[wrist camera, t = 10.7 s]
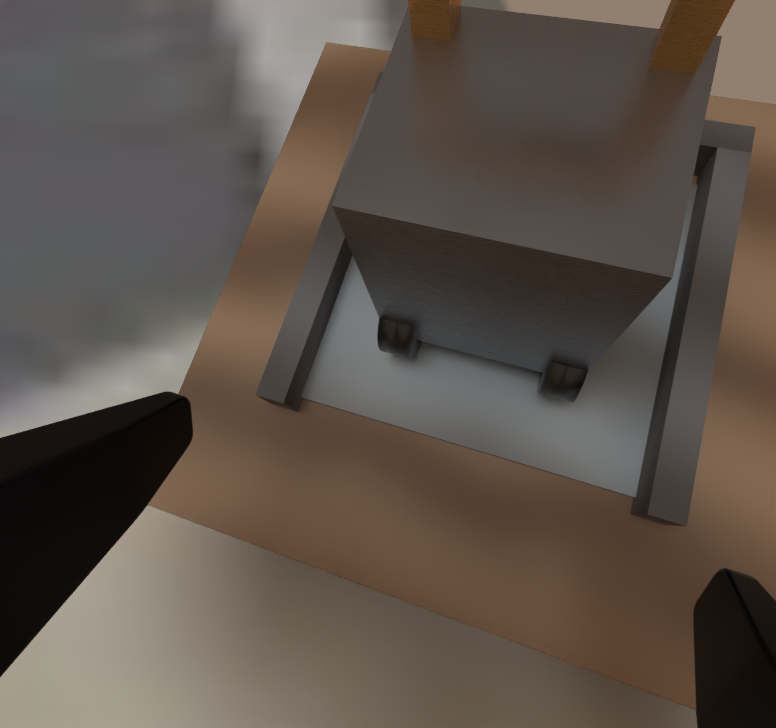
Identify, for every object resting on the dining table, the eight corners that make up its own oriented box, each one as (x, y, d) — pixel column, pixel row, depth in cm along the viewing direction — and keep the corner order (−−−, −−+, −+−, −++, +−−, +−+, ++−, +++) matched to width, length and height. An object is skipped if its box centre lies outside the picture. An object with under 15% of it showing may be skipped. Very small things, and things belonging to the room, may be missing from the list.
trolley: (563, 411, 16) (837, 144, 4) (385, 362, 18) (230, 52, 6) (604, 240, 18) (895, -308, 6) (437, 207, 19) (397, -301, 7)
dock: (728, 705, 16) (812, 766, 12) (172, 500, 20) (105, 498, 16) (806, 161, 20) (886, 80, 16) (339, 87, 24) (317, 9, 21)
